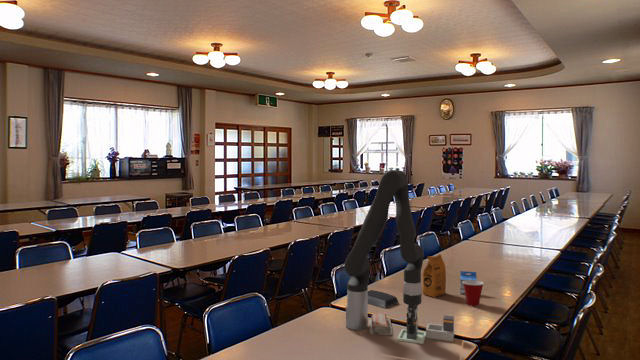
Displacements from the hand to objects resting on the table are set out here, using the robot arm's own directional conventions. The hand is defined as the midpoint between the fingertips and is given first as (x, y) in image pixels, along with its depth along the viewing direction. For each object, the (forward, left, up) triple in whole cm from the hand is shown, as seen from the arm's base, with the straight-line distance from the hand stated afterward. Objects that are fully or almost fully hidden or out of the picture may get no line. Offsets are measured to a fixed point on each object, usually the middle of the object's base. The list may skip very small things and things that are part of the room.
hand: (412, 331), depth 187 cm
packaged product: (-15, +7, -4) cm, 17 cm away
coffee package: (+1, +66, -3) cm, 66 cm away
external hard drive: (-25, +43, -4) cm, 50 cm away
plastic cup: (+22, +55, -3) cm, 60 cm away
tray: (0, 0, -3) cm, 3 cm away
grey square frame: (+11, +6, -3) cm, 13 cm away
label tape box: (+19, +73, -3) cm, 76 cm away
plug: (0, 0, -2) cm, 2 cm away
